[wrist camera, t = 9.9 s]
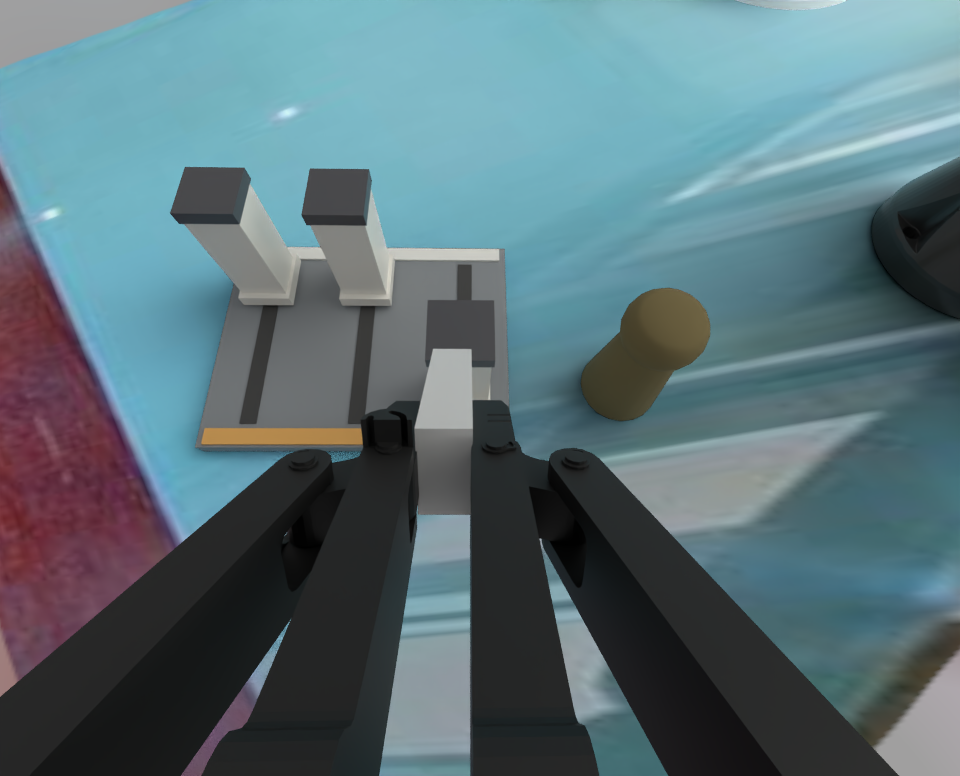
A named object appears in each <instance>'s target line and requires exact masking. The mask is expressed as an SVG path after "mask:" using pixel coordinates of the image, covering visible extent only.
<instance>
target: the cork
mask: <svg viewBox="0 0 960 776" xmlns="http://www.w3.org/2000/svg"><path fill="white" fill-rule="evenodd" d="M709 337H710V321H709V318H708V315H707V312H706V310H705V309H704V308H703V306H702V305H701V303H700V302H699V301H698V300H696V299H695V298H694V297H693V296H691V295H690V294H688V293H685V292H683V291H681V290H678V289H672V288H661V289H653V290H650V291H648V292H645V293H643V294H641V295H640V296H638V297H637V298H636V299H635V300H634V301H633V302H632V303H630V304H629V306H628V308H627V309H626V311H625V313H624V315H623V317H622V319H621V327H620V332H619V333H618V334H617V335H616V336H615V337H614V338H613V339H612V340H611V341H610V342H609V343H608V344H607V345H606V346H605V347H604V348H603V349H602V350H601V351H600V352H599V353H598V354H597V355H596V356H595V357H594V358H593V359H592V360H591V361H590V362H589V363H588V364H587V365H586V367H585V369H584V371H583V373H582V378H581V387H582V392H583V395H584V397H585V399H586V401H587V402H588V404H589V405H590V406H591V407H592V408H593V409H594V410H595V411H596V412H597V413H599V414H601V415H603V416H604V417H606V418H608V419H613V420H618V421H626V420H633V419H635V418H637V417H639V416H642V415H643V414H644V413H645V412H646V411H647V410H648V409H649V408H650V407H651V405H652V404H653V402H654V401H655V399H656V398H657V396H658V395H659V393H660V392H661V390H662V388H663V387H664V385H665V384H666V382H667V381H668V379H669V378H670V376H671V375H672V373H673V372H674V371H675V370H677V369H680V368H682V367H685V366H687V365H689V364H691V363H692V362H693V361H694V360H695V359H696V358H697V357H698V356H699V355H700V354H701V353H702V352H703V351H704V349H705V347H706V345H707V342H708V340H709Z"/></svg>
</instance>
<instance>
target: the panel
mask: <svg viewBox="0 0 960 776" xmlns="http://www.w3.org/2000/svg"><path fill="white" fill-rule="evenodd" d="M287 248H288V250H289V252H290V253H297V255H298V256H299V258H300V260H301V265H300V270H299V276H298V282H297V288H296V293H295V299H294V305H244V304H243V303H242V302H241V301H240V300H239V299H238V297H239V292H240V290H239V289H238V288H237V286H236V285H235V284H234V285H233V289H232V293H231V297H230V301H229V306H228V310H227V314H226V318H225V323H224V327H223V331H222V335H221V340H220V344H219V348H218V352H217V356H216V361H215V365H214V369H213V373H212V378H211V382H210V386H209V390H208V394H207V399H206V403H205V407H204V411H203V416H202V420H201V424H200V428H199V433H198V437H197V441H196V445H195V448H198V449H200V450H202V451H298V450H302V449H303V450H304V449H319V450H323V451H362V449H363V441H362V431H361V421H360V419H361V418H362V417H363V416H364V415H366V414H368V413H370V412H372V411H376V410H380V409H387V408H388V407H389V406H390V405H391V404H393V403H394V402H395V401H421V398H422V394H423V390H424V386H425V382H426V377H427V373H428V369H429V367H426V363H425V347H426V325H427V303H428V300H494V313H495V367H492V368H491V378H490V400H502V401H503V402H504V403H505V404H506V405H507V406H508V407H509V383H508V350H507V316H506V283H505V249H470V248H387V251H388V254H393V256H394V260H395V267H394V280H393V292H392V304H391V306H342V304H341V302H340V300H339V296H340V287H339V285H338V283H337V281H336V279H335V276H334V274H333V272H332V270H331V268H330V266H329V264H328V262H327V260H326V257H325V255H324V253H323V251H322V249H321V247H287Z"/></svg>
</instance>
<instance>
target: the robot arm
mask: <svg viewBox="0 0 960 776" xmlns="http://www.w3.org/2000/svg"><path fill="white" fill-rule="evenodd" d="M872 239H873V244H874V247H875V250H876V252H877V255H878V257H879V259H880V260H881V262H882V264H883V265H884V267H885V268H886V270H887V271H888V272H889V274H890V275H891V276H892V277H893V278H894V279H895V280H896V281H897V282H898V283H899V284H900V285H901V286H902V287H903V288H904V289H905V290H906V291H908V292H909V293H910V294H912V295H913V296H914V297H916V298H917V299H919V300H920V301H922V302H923V303H925V304H927V305H928V306H930V307H932V308H934V309H936V310H938V311H940V312H943V313H945V314H948V315H950V316H953V317H956V318H960V157H958V158H956V159H954V160H952V161H950V162H948V163H946V164H944V165H942V166H940V167H938V168H936V169H934V170H932V171H930V172H928V173H926V174H924V175H922V176H920V177H918V178H916V179H914V180H912V181H911V182H909V183H908V184H906V185H905V186H903V187H902V188H901V189H900V190H898V191H897V192H896V193H895V194H894V195H893V196H892V197H890V198H889V199H888V200H887V201H886V202H885V203H883V204H882V205H881V207H880V208H879V209H878V211H877V212H876V214H875V216H874V219H873V223H872ZM360 421H361V431H362V441H363V449H362V451H361V454H360V456H359V457H356V458H354V459H350V460H346V461H340V462H334V463H332V460H331V455H330V454H328V453H327V452H326V451H323V450H319V449H304V450H303V449H302V450H298V451H296V452H293V453H290V454H288V455H286V456H285V457H283V458H281V459H280V460H279V461H278V462H276V463H275V464H274V465H273V466H272V467H270V468H269V469H268V470H267V471H266V472H265V473H263V474H262V475H261V476H260V477H259V478H257V479H256V480H255V481H254V482H253V483H252V484H250V485H249V486H248V487H247V488H246V489H245V490H243V491H242V492H241V493H240V494H239V495H237V496H236V497H235V498H234V499H233V500H232V501H230V502H229V503H228V504H227V505H226V506H225V507H223V508H222V509H221V510H220V511H219V512H217V513H216V514H215V515H214V516H213V517H212V518H210V519H209V520H208V521H207V522H206V523H204V524H203V525H202V526H201V527H200V528H199V529H197V530H196V531H195V532H194V533H193V534H192V535H190V536H189V537H188V538H187V539H186V540H184V541H183V542H182V543H181V544H180V545H179V546H177V547H176V548H175V549H174V550H173V551H172V552H170V553H169V554H168V555H167V556H166V557H164V558H163V559H162V560H161V561H160V562H159V563H157V564H156V565H155V566H154V567H153V568H151V569H150V570H149V571H148V572H147V573H146V574H144V575H143V576H142V577H141V578H140V579H139V580H137V581H136V582H135V583H134V584H133V585H131V586H130V587H129V588H128V589H127V590H126V591H124V592H123V593H122V594H121V595H120V596H119V597H117V598H116V599H115V600H114V601H113V602H111V603H110V604H109V605H108V606H107V607H106V608H104V609H103V610H102V611H101V612H100V613H98V614H97V615H96V616H95V617H94V618H93V619H91V620H90V621H89V622H88V623H87V624H86V625H84V626H83V627H82V628H81V629H80V630H78V631H77V632H76V633H75V634H74V635H73V636H71V637H70V638H69V639H68V640H67V641H66V642H64V643H63V644H62V645H61V646H60V647H58V648H57V649H56V650H55V651H54V652H53V653H51V654H50V655H49V656H48V657H47V658H45V659H44V660H43V661H42V662H41V663H40V664H38V665H37V666H36V667H35V668H34V669H33V670H31V671H30V672H29V673H28V674H27V675H25V676H24V677H23V678H22V679H21V680H20V681H18V682H17V683H16V684H15V685H14V686H13V687H11V688H10V689H9V690H8V691H7V692H5V693H4V694H3V695H2V696H1V697H0V776H181V774H182V773H183V772H184V770H185V769H186V767H187V766H188V765H189V763H190V762H191V760H192V759H193V757H194V756H195V755H196V753H197V752H198V750H199V749H200V747H201V746H202V745H203V743H204V742H205V740H206V739H207V737H208V736H209V735H210V733H211V732H212V730H213V729H214V728H215V726H216V725H217V723H218V722H219V720H220V719H221V718H222V716H223V715H224V713H225V712H226V710H227V709H228V708H229V706H230V705H231V703H232V702H233V700H234V699H235V698H236V696H237V695H238V693H239V692H240V691H241V689H242V688H243V686H244V685H245V683H246V682H247V681H248V679H249V678H250V676H251V675H252V673H253V672H254V671H255V669H256V668H257V666H258V665H259V663H260V662H261V661H262V659H263V658H264V656H265V655H266V654H267V652H268V651H269V649H270V648H271V646H272V645H273V644H274V642H275V641H276V639H277V638H278V636H279V635H280V634H281V632H282V631H283V629H284V628H285V626H286V625H287V624H288V622H289V621H290V619H291V621H290V623H289V625H288V628H287V630H286V633H285V635H284V637H283V640H282V642H281V645H280V647H279V649H278V652H277V654H276V656H275V659H274V661H273V664H272V666H271V668H270V671H269V673H268V676H267V678H266V680H265V683H264V685H263V687H262V690H261V692H260V695H259V697H258V699H257V702H256V704H255V707H254V709H253V711H252V713H251V715H250V717H249V719H248V721H247V723H246V724H245V725H244V726H243V727H242V728H241V729H237V730H232V731H229V732H228V733H227V734H226V735H225V736H224V737H223V738H222V740H221V741H220V742H219V743H218V745H217V747H216V748H215V750H214V752H213V754H212V756H211V757H210V759H209V761H208V763H207V765H206V767H205V770H204V772H203V774H202V776H379V772H380V765H381V759H382V752H383V746H384V739H385V733H386V726H387V720H388V713H389V707H390V700H391V694H392V687H393V681H394V674H395V668H396V661H397V655H398V648H399V642H400V635H401V629H402V622H403V616H404V609H405V603H406V596H407V589H408V583H409V576H410V570H411V563H412V557H413V550H414V544H415V537H416V531H417V514H416V511H417V505H418V515H471V516H470V776H599V772H598V768H597V763H596V759H595V754H594V751H593V747H592V743H591V740H590V736H589V734H588V732H587V730H586V727H585V726H584V725H582V724H580V723H578V721H577V718H576V716H575V712H574V708H573V703H572V698H571V693H570V688H569V683H568V678H567V673H566V668H565V663H564V658H563V653H562V649H561V644H560V639H559V634H558V629H557V624H556V619H555V614H554V609H553V604H552V599H551V594H550V589H549V584H548V579H547V575H546V570H545V565H544V560H543V555H542V550H541V545H540V540H539V538H541V539H542V544H543V548H544V549H545V551H546V553H547V555H548V557H549V559H550V560H551V562H552V564H553V566H554V568H555V570H556V571H557V573H558V575H559V577H560V579H561V581H562V582H563V584H564V586H565V588H566V590H567V591H568V593H569V595H570V597H571V599H572V601H573V602H574V604H575V606H576V608H577V610H578V612H579V613H580V615H581V617H582V619H583V621H584V623H585V624H586V626H587V628H588V630H589V632H590V634H591V635H592V637H593V639H594V641H595V643H596V644H597V646H598V648H599V650H600V652H601V654H602V655H603V657H604V659H605V661H606V663H607V665H608V666H609V668H610V670H611V672H612V674H613V676H614V677H615V679H616V681H617V683H618V685H619V687H620V688H621V690H622V692H623V694H624V696H625V697H626V699H627V701H628V703H629V705H630V707H631V708H632V710H633V712H634V714H635V716H636V718H637V719H638V721H639V723H640V725H641V727H642V729H643V730H644V732H645V734H646V736H647V738H648V739H649V741H650V743H651V745H652V747H653V749H654V750H655V752H656V754H657V756H658V758H659V760H660V761H661V763H662V765H663V767H664V769H665V771H666V772H667V774H668V776H899V775H898V774H897V773H896V772H895V771H894V770H893V769H892V768H891V767H890V766H889V765H888V764H887V763H886V762H885V761H884V759H883V758H882V757H881V756H880V755H879V754H878V753H877V752H876V751H875V750H874V749H873V748H872V747H871V746H870V745H869V744H868V743H867V741H866V740H865V739H864V738H863V737H862V736H861V735H860V734H859V733H858V732H857V731H856V730H855V729H854V728H853V727H852V726H851V725H850V723H849V722H848V721H847V720H846V719H845V718H844V717H843V716H842V715H841V714H840V713H839V712H838V711H837V710H836V709H835V708H834V707H833V705H832V704H831V703H830V702H829V701H828V700H827V699H826V698H825V697H824V696H823V695H822V694H821V693H820V692H819V691H818V690H817V689H816V688H815V686H814V685H813V684H812V683H811V682H810V681H809V680H808V679H807V678H806V677H805V676H804V675H803V674H802V673H801V672H800V671H799V670H798V668H797V667H796V666H795V665H794V664H793V663H792V662H791V661H790V660H789V659H788V658H787V657H786V656H785V655H784V654H783V653H782V652H781V650H780V649H779V648H778V647H777V646H776V645H775V644H774V643H773V642H772V641H771V640H770V639H769V638H768V637H767V636H766V635H765V634H764V632H763V631H762V630H761V629H760V628H759V627H758V626H757V625H756V624H755V623H754V622H753V621H752V620H751V619H750V618H749V617H748V616H747V614H746V613H745V612H744V611H743V610H742V609H741V608H740V607H739V606H738V605H737V604H736V603H735V602H734V601H733V600H732V599H731V598H730V597H729V595H728V594H727V593H726V592H725V591H724V590H723V589H722V588H721V587H720V586H719V585H718V584H717V583H716V582H715V581H714V580H713V579H712V577H711V576H710V575H709V574H708V573H707V572H706V571H705V570H704V569H703V568H702V567H701V566H700V565H699V564H698V563H697V562H696V561H695V559H694V558H693V557H692V556H691V555H690V554H689V553H688V552H687V551H686V550H685V549H684V548H683V547H682V546H681V545H680V544H679V543H678V541H677V540H676V539H675V538H674V537H673V536H672V535H671V534H670V533H669V532H668V531H667V530H666V529H665V528H664V527H663V526H662V525H661V523H660V522H659V521H658V520H657V519H656V518H655V517H654V516H653V515H652V514H651V513H650V512H649V511H648V510H647V509H646V508H645V507H644V506H643V504H642V503H641V502H640V501H639V500H638V499H637V498H636V497H635V496H634V495H633V494H632V493H631V492H630V491H629V490H628V489H627V488H626V486H625V485H624V484H623V483H622V482H621V481H620V480H619V479H618V478H617V477H616V476H615V475H614V474H613V473H612V472H611V471H610V470H609V468H608V467H607V466H606V465H605V464H604V463H603V462H602V461H601V460H600V459H599V458H598V457H596V456H595V455H594V454H592V453H590V452H587V451H585V450H582V449H577V448H567V449H561V450H557V451H555V452H554V453H552V454H551V456H550V458H549V461H544V460H539V459H535V458H532V457H529V456H527V455H525V454H524V453H522V451H521V447H520V445H519V444H518V442H516V441H515V437H514V432H513V427H512V422H511V416H510V411H509V407H508V406H507V405H506V404H505V403H504V402H503V401H502V400H472V350H471V349H433V352H432V356H431V360H430V365H429V369H428V373H427V377H426V382H425V386H424V390H423V394H422V398H421V401H395V402H394V403H393V404H391V405H390V406H389V407H388V408H387V409H380V410H376V411H372V412H370V413H368V414H366V415H364V416H363V417H362V418H361V419H360ZM286 533H287V534H286ZM285 534H286V535H285Z"/></svg>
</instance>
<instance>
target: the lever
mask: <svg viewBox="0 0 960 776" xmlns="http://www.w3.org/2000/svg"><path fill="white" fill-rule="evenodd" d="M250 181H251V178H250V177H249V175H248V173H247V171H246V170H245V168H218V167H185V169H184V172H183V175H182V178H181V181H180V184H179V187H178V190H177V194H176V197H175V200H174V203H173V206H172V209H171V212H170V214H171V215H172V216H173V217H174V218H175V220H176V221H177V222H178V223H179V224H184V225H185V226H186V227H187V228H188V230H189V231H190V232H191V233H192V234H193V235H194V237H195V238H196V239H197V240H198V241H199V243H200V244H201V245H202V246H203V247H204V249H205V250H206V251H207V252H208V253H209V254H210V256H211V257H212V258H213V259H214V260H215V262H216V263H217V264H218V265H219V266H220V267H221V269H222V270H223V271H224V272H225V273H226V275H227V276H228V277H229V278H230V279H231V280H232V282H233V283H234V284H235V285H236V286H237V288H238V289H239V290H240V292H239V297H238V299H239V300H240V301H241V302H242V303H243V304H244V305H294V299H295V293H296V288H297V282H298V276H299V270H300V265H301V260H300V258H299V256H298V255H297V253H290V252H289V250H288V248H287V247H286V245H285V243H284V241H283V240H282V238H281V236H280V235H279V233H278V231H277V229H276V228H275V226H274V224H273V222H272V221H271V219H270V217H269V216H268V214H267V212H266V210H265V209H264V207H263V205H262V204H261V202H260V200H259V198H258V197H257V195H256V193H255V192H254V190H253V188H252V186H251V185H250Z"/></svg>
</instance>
